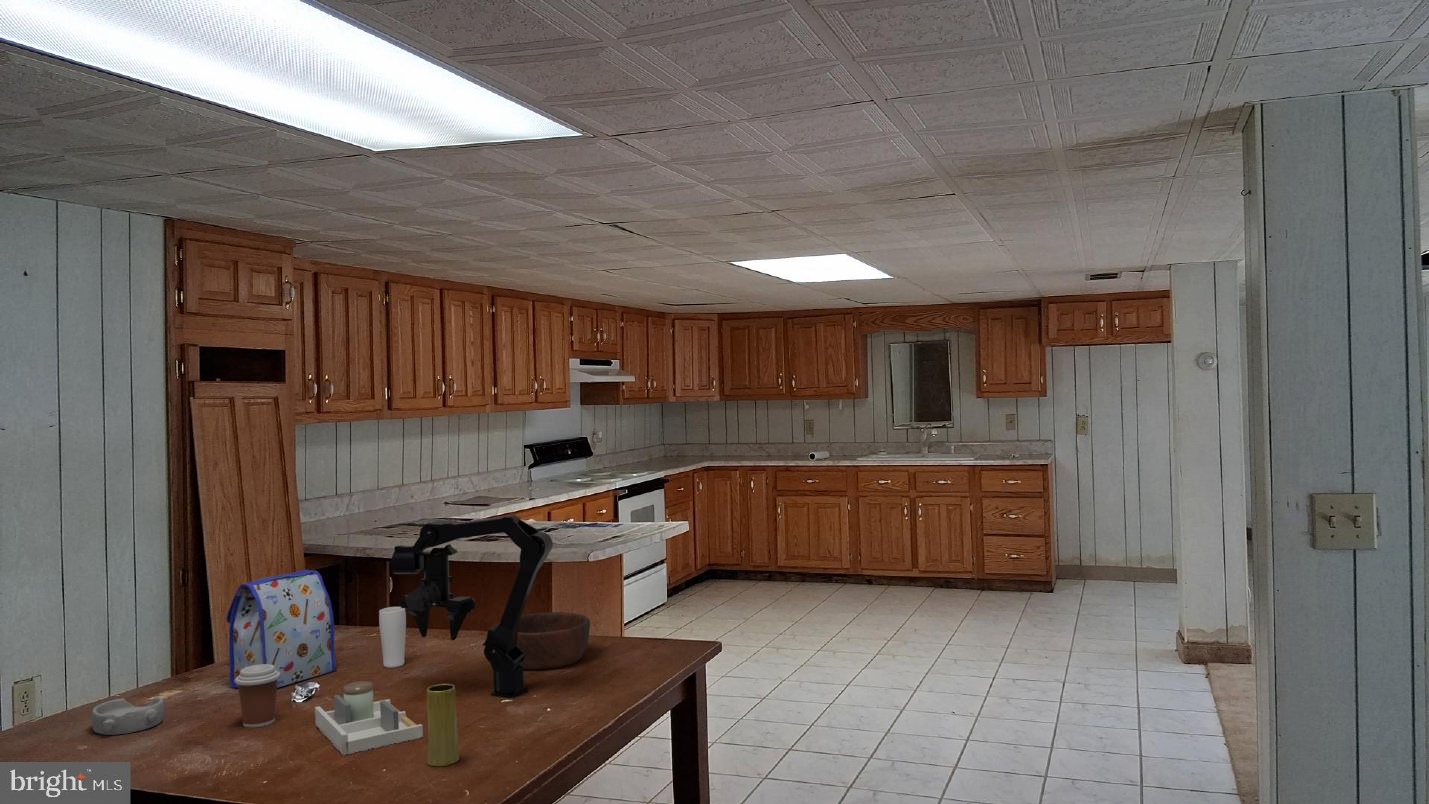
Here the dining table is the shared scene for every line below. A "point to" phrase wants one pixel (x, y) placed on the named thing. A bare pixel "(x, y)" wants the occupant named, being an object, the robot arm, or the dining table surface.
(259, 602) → the lunch bag
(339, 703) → the plate
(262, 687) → the coffee cup
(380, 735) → the white divided tray
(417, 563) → the robot arm
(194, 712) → the dining table surface
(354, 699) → the sage jar
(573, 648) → the wooden bowl
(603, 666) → the dining table surface
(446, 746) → the vase
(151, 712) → the dish
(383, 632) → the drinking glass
